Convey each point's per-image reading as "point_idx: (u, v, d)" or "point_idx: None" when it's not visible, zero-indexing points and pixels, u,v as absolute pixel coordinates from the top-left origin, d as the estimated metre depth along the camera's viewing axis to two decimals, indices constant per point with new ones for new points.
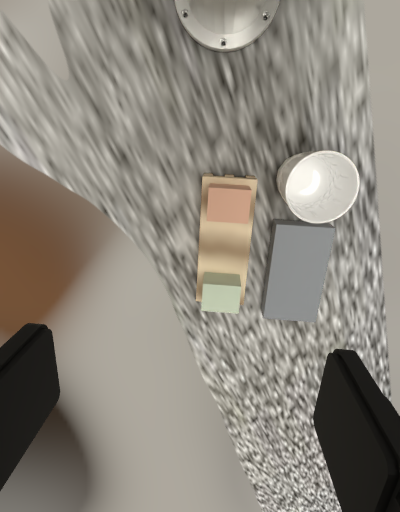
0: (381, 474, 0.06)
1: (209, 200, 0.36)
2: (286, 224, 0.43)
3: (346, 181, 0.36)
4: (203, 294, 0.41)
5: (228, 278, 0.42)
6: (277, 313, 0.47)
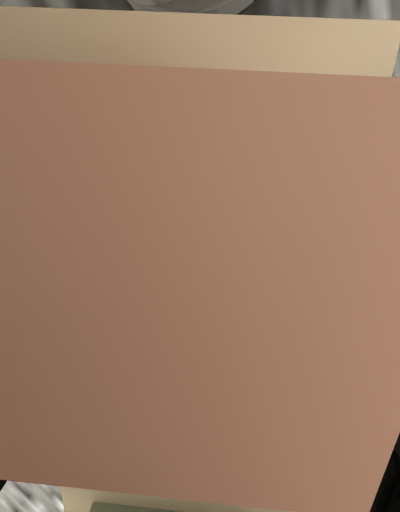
0: None
1: None
2: None
3: None
4: None
5: None
6: None
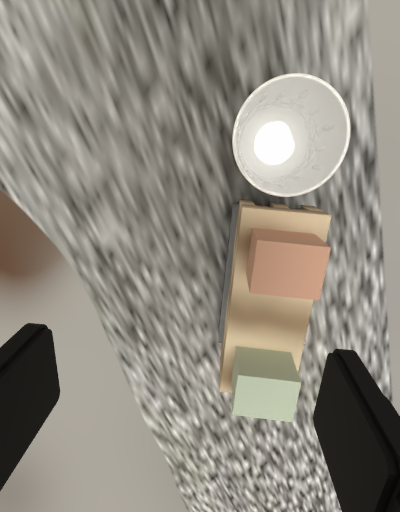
0: (381, 474, 0.06)
1: (257, 261, 0.22)
2: None
3: (331, 134, 0.23)
4: (237, 391, 0.25)
5: (276, 362, 0.27)
6: None
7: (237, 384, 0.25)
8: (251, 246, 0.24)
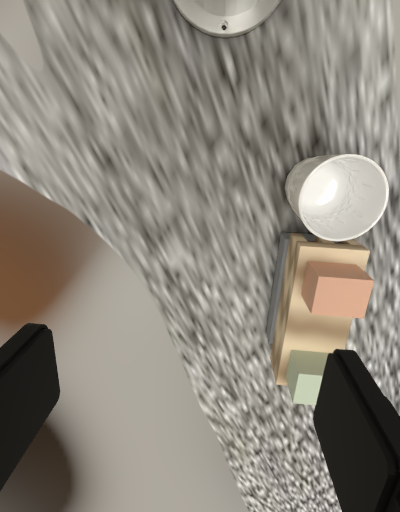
0: (381, 474, 0.06)
1: (317, 291, 0.29)
2: None
3: (370, 190, 0.30)
4: (298, 385, 0.33)
5: (325, 361, 0.34)
6: None
7: (298, 380, 0.33)
8: (308, 276, 0.31)
